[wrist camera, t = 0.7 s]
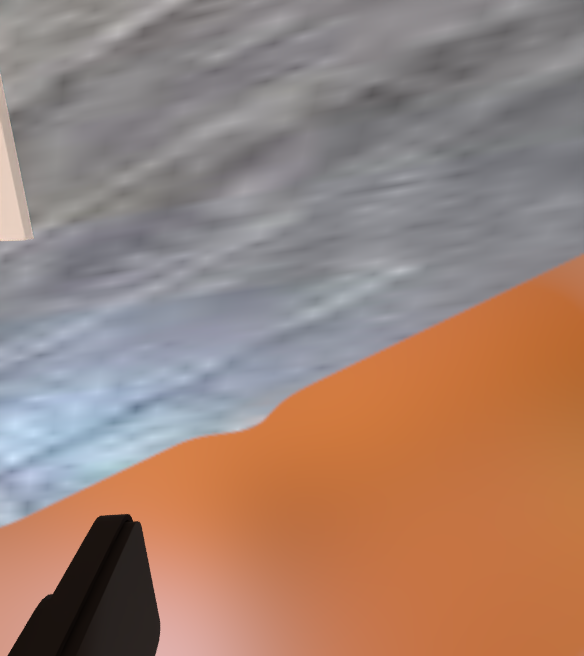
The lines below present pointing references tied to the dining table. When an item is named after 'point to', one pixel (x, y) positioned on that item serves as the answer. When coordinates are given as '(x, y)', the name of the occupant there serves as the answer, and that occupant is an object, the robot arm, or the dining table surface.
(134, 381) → the dining table surface
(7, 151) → the label plate
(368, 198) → the dining table surface
